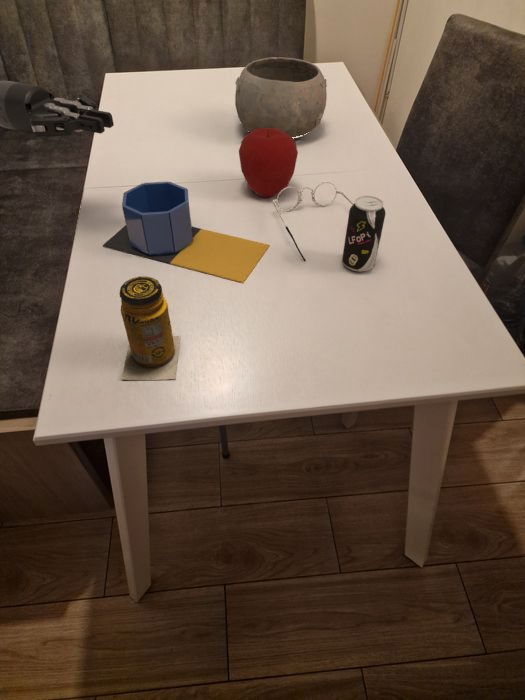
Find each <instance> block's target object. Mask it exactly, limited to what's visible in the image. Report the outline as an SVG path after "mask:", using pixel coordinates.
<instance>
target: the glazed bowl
mask: <svg viewBox="0 0 525 700" xmlns="http://www.w3.org/2000/svg"><path fill="white" fill-rule="evenodd" d="M121 208H122V213H123V217H124V221H125V222H124V223H125V225H126V227H127V231H128V236H129V240H130V245H131V246H133V247H135V248H137V249H138V250H139V251H141V252H143V253H145V254H149V255H168V254H173V253H176V252H178V251H180V250H182V249H184V248H185V247H186V246H187V245H188V244H189V243H191V242H192V241H193V234H192V227H193V223H192V214H191V204H190V196H189V189H188V188H186V187H185V186H182V185H178V184H177V183H174V182H172V181H155V182H154V181H152V182H142V183H140V184H138V185H136V186H134V187H132V188H130V189H128V190H126V191H125V192H123V194H122V202H121Z"/></svg>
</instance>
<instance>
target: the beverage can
mask: <svg viewBox="0 0 525 700" xmlns="http://www.w3.org/2000/svg"><path fill="white" fill-rule="evenodd" d="M353 203H354V204H353V205H352V204H351V206H350V208H349V211H348V217H347V225H346V231H345V237H344V244H343V250H342V251H343V252H342V257H341V260H342V261H341V262H342V264H343V265H344V266H345V267H346V268H347V269H349V270H351V271H353V272H359V273H360V272H366V271H370V270H372V269H373V268H374V267H375V265H376V262H377V257H378V253H379V247H380V244H381V243H380V242H381V237H382V232H383V229H384V223H385V219H386V209H385V208H384V201H383V200H382V199H381V198H379V197H377V196H373V195H360V196H358V197H356V198H355V200H354V202H353Z"/></svg>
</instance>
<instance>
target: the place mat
mask: <svg viewBox="0 0 525 700" xmlns="http://www.w3.org/2000/svg"><path fill="white" fill-rule="evenodd" d="M192 234H193V241H192V242H191V243H189V244H188V245H187V246H186V247H185V248H184V249H182V250H180V251H178V252H176V253H173V254H168V255H149V254H145V253H143V252H141V251H139V250H138V249H137V248H135V247H133V246H131V245H130V240H129V236H128V231H127V227H126V224H125V225H124V226H123V227H121V229H120V230H118V231H117V232H116V233H115V234H113V236H111V237H110V238H109V239H108V240H107V241H106V242H104V243H103V244H102V247H103V248H106V249H110V250H114V251H118V252H122V253H126V254H130V255H134V256H138V257H141V258H145V259H149V260H153V261H156V262H160V263H163V264H169V265H172V266H176V267H180V268H183V269H187V270H191V271H195V272H198V273H199V272H200V273H202V274H207V275H209V276H210V275H211V276H213V277H217V278H221V279H226V280H229V281H233V282H237V283H241V284H244V283H245V282H246V281H247V279H248V277H249V276H250V274H251V273H252V272H253V270H254V269H255V267H256V266H257V265H258V264H259V262H260V261H261V260H262V258H263V256H264V255H265V253H266V252H267V251H268V249H269V248H270V247H271V245H270V244H268V243H264V242H258V241H255V240H251V239H247V238H242V237H238V236H233V235H230V234H226V233H222V232H217V231H212V230H208V229H204V228H200V227H195V226H192Z"/></svg>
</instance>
